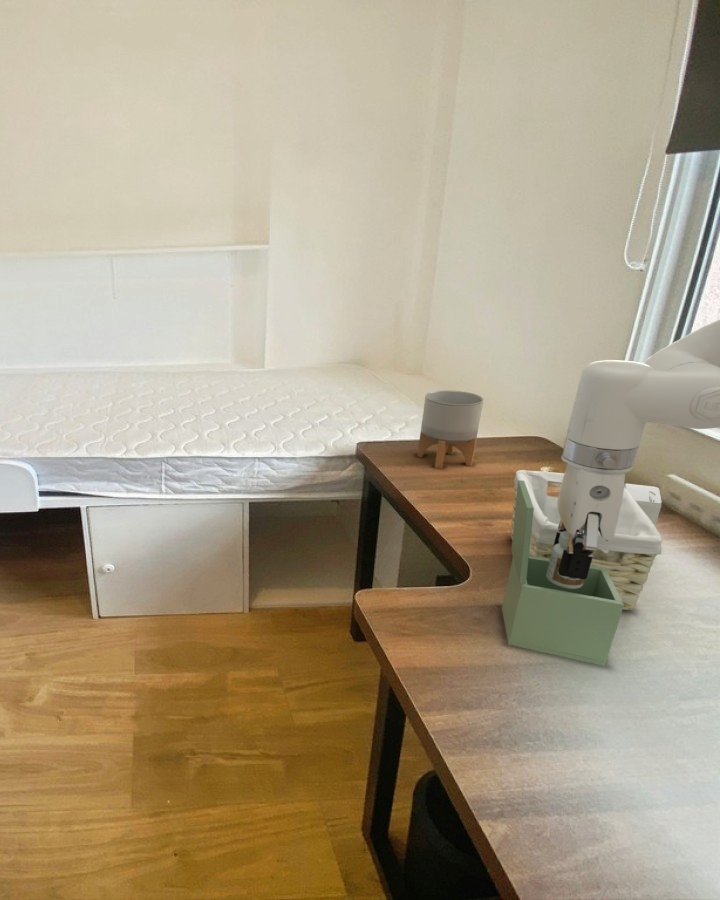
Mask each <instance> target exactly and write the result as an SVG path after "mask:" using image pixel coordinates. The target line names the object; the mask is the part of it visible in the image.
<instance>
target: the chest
mask: <svg viewBox="0 0 720 900" xmlns="http://www.w3.org/2000/svg"><path fill="white" fill-rule="evenodd" d="M549 561H550V559H546V558H539V557H533V556H529V559H528V568H527V578H526V584H523V583H519V580H518V575H517V571H516V567H515V563H514V559H513V558H512V559H511V563H510V569H509V573H508V577H507V583H506V587H505V592H504V596H503V601H502V605H501V612H502V617H503V622H504V627H505V634H506V639H507V644H508V645H509V646H513V647H519V648H522V649H528V650H532V651H536V652H541V653H545V654H550V655H554V656H558V657H563V658H568V659H572V660H577V661H582V662H586V663H589V664H595V665H599V666H603V667H604V666H606V664H607V660H608V657H609V654H610V650H611V647H612V644H613V641H614V638H615V634H616V631H617V628H618V626H619V622H620V620H621V616H622V613H623V610H624V609H623V607H624V604H623V602H622V600H621V598H620V596H619V594H618V592H617V590H616V588H615V586H614V584H613V582H612V580H611V578H610V576H609V574H608V571H607V569H606V568H601V567H595V566H590V568H589V572H588V575H587V578H586V579H584V582H583V585H582V587H580V588H578V589H568V588H562V587H560V586H557V585H555V584H553V583H551V582H550V581H549V580H548V579H547V577H546V573H547V569H548V565H549Z"/></svg>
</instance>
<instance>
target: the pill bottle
mask: <svg viewBox="0 0 720 900" xmlns="http://www.w3.org/2000/svg"><path fill="white" fill-rule="evenodd" d="M569 535H570V534H569V533H568V532H567V531H563V532H561V534H560V537H559V543H558V544H556V545H555V546H554V547H553V549H552V553H551V557H550V561H549V565H548V569H547V573H546V577H547V579H548V580H549V581H550V582H551V583H553V584H555V585H557V586H560V587H562V588H568V589H578V588H580V587H582V585H583V582H584V579H578V578H572V577H566V576H561V575H559V573H558V570H559V566H560V562H561V558H562V554H563V551H564V550H567V546H568V540H569ZM582 541H583V539H582V538H576V541H575V544H576V543H578V542H582Z"/></svg>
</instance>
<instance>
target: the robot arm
mask: <svg viewBox="0 0 720 900" xmlns="http://www.w3.org/2000/svg"><path fill="white" fill-rule="evenodd" d="M647 423H654V424H661V425H668V426H673V427H679V428H684V429H691V430H692V429H694V430H708V429H710V430H711V429H716V428H720V319H717V320H715V321H713V322H711V323H709V324H706V325H704V326H702V327H700V328H698V329H696V330H694V331H692V332H690V333H688V334H687V335H685V336H682V337H681V338H679V339H678V340H676V341H674V342H672V343H670V344H668V345H667V346H665V347H663V348H662V349H659V350H658V351H656V352H655V353H653V354H652V355H650V356H649V357H648V358H647V359H645V360H644V361H643V362H638V361H631V360H622V359H621V360H620V359H618V360H617V359H605V360H597V361H593V362H590V363H589V364H587V365H586V366H585V367H584V368H583V369H582V370H581V374H580V377H579V381H578V386H577V389H576V392H575V398H574V402H573V405H572V409H571V415H570V420H569V422H568V427H567V432H566V435H565V440H564V444H563V448H562V453H561V457H560V459H561V461H563V462H564V463H565V464H566V467H565V470H564V472H563V473H564V477H563V480H562V484H561V487H560V488H559V493H558V496H557V497H558V503H557V508H558V512H559V514H560V517H561V520H560V523H559V526H558V532H563V531H567V532H568V533H569V534H570V535H569V540H568V546H567V550H564V551H563V554H562V558H561V562H560V566H559V570H558V573H559V575H561V576H566V577H572V578H578V579H586V578H587V575H588V572H589V568H590V565H591V561H592V558H593V555H594V551H597V546H598V531H599V533H600V535H601V536H602V538H603V539H604V540H606V541H611V540H612V539H613V538H614V534H615V530H616V525H617V521H618V517H619V512H620V508H621V503H622V497H623V491H624V486H625V482H626V473H629V472H631V471H632V470H633V468H634V465H635V461H636V456H637V454H638V449H639V446H640V443H641V440H642V436H643V433H644V430H645V427H646V424H647ZM583 531H584V533H583ZM558 532H557V534H556V538H555V542H554V546H555V545H556V544H558V543H559V537H560V534H561V533H558ZM576 538H582V539H583V541H582V542H578V543H576V544H575V541H576ZM554 546H553V547H554Z"/></svg>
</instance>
